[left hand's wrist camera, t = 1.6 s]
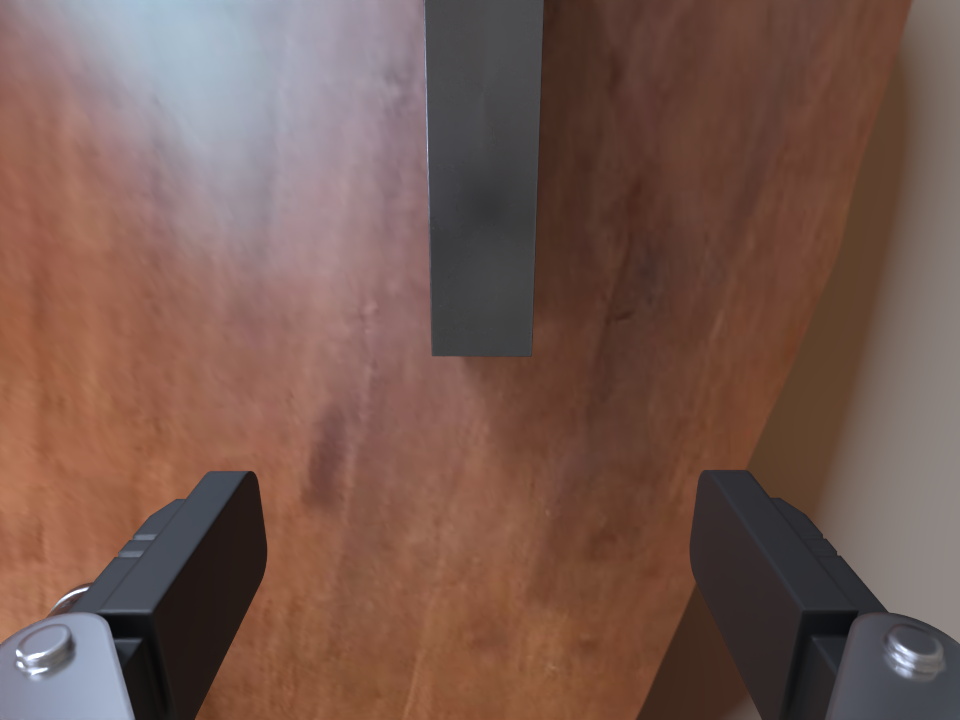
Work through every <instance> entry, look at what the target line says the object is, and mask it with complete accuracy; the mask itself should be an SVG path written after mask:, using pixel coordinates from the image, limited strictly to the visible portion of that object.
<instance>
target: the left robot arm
mask: <svg viewBox="0 0 960 720" xmlns="http://www.w3.org/2000/svg"><path fill="white" fill-rule="evenodd" d="M266 561H267V541H266V534H265V526H264V519H263V512H262V505H261V498H260V491H259V484H258V479H257V477H256V475H255V473H254V472H252V471H210V472H208V473H207V474H206V475H205V476H204V477H203V478H202V480H201V481H200V482H199V483H198V485H197V486H196V487H195V488H194V490H193V491H192V492H191V493H190V495H189V496H188V497H187V498H186V499H176V500H174V501H173V502H171V503H170V504H168V505H166V506H165V507H163V508H162V509H160V510H159V511H157V512H156V513H154V514H153V515H151V516H150V517H149V518H148V519H147V520H146V521H145V523H144V524H143V525H142V526H141V527H140V528H139V530H138V531H137V532H136V533H135V534H134V535H133V540H129V541H128V542H127V544H126V545H125V546H124V547H123V548H122V549H121V551H120V552H119V555H118V557H115V558H114V559H113V560H112V561H111V562H110V563H109V565H108V566H107V567H106V568H105V569H104V570H103V572H102V573H101V574H100V575H99V576H98V577H97V579H96V580H95V581H94V582H93V583H88V584H84V585H81V586H78V587H76V588H74V589H72V590H70V591H69V592H68V593H66V594H65V595H64V596H63V597H62V598H61V599H60V600H59V601H58V603H57V604H56V605H55V606H54V607H53V609H52V610H51V612H50V614H49V615H48V616H47V617H46V618H45V619H43V620H40V621H38V622H36V623H33V624H31V625H29V626H27V627H25V628H23V629H21V630H20V631H18V632H16V633H15V634H13V635H12V636H10V637H9V638H8V639H6V640H5V641H4V642H2V643H1V644H0V720H194V719H195V717H196V715H197V713H198V711H199V709H200V707H201V705H202V703H203V701H204V699H205V697H206V695H207V693H208V690H209V688H210V686H211V684H212V682H213V680H214V678H215V676H216V674H217V672H218V670H219V668H220V666H221V664H222V662H223V660H224V657H225V655H226V653H227V651H228V649H229V647H230V645H231V643H232V641H233V639H234V637H235V635H236V633H237V631H238V629H239V627H240V624H241V622H242V620H243V618H244V616H245V614H246V612H247V610H248V608H249V606H250V604H251V602H252V600H253V598H254V596H255V593H256V591H257V589H258V587H259V585H260V583H261V581H262V579H263V576H264V572H265V568H266ZM690 562H691V567H692V572H693V575H694V578H695V580H696V582H697V585H698V587H699V589H700V591H701V593H702V595H703V597H704V599H705V601H706V603H707V605H708V608H709V610H710V612H711V614H712V616H713V618H714V620H715V622H716V624H717V626H718V628H719V630H720V633H721V635H722V637H723V639H724V641H725V643H726V645H727V647H728V649H729V651H730V653H731V656H732V658H733V660H734V662H735V664H736V666H737V668H738V670H739V672H740V674H741V676H742V679H743V681H744V683H745V685H746V687H747V689H748V691H749V693H750V695H751V697H752V699H753V701H754V704H755V706H756V708H757V710H758V712H759V714H760V716H761V718H762V720H960V644H959V643H958V642H956V641H955V640H954V639H952V638H951V637H950V636H948V635H947V634H945V633H944V632H942V631H940V630H939V629H937V628H935V627H933V626H931V625H929V624H927V623H924V622H922V621H919V620H917V619H914V618H911V617H908V616H904V615H900V614H895V613H889V612H888V611H887V610H886V609H885V608H884V606H883V605H882V604H881V603H880V602H879V600H878V599H877V598H876V597H875V596H874V595H873V593H872V592H871V591H870V590H869V589H868V587H867V586H866V585H865V584H864V583H863V582H862V580H861V579H860V578H859V577H858V576H857V574H856V573H855V572H854V571H853V570H852V569H851V567H850V566H849V565H848V564H847V563H846V561H845V560H844V559H843V558H842V557H841V556H838V555H837V551H836V550H835V549H834V547H833V546H832V545H831V544H830V543H829V541H828V540H827V539H823V534H822V533H821V532H820V531H819V530H818V528H817V527H816V526H815V525H814V524H813V523H812V521H811V520H810V519H809V518H808V517H807V515H805V514H804V513H802V512H801V511H799V510H798V509H796V508H795V507H793V506H791V505H790V504H788V503H787V502H785V501H784V500H782V499H781V498H770V497H769V496H768V495H767V493H766V492H765V491H764V490H763V488H762V487H761V486H760V484H759V483H758V482H757V481H756V479H755V478H754V477H753V476H752V474H751V473H750V472H749V471H747V470H704V471H703V472H702V473H701V475H700V477H699V481H698V487H697V494H696V502H695V509H694V516H693V523H692V531H691V538H690Z"/></svg>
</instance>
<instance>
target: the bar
mask: <svg viewBox="0 0 960 720" xmlns="http://www.w3.org/2000/svg"><path fill="white" fill-rule="evenodd" d="M543 21H544V0H424V40H425V83H426V126H427V170H428V213H429V256H430V299H431V343H432V356H526V357H530V356H532V335H533V306H534V278H535V249H536V221H537V192H538V164H539V135H540V106H541V78H542V49H543Z"/></svg>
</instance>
